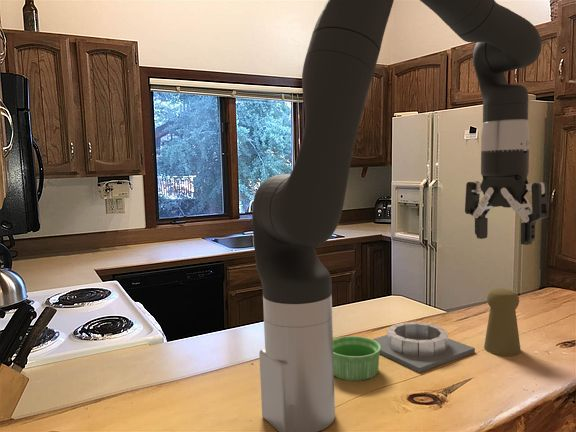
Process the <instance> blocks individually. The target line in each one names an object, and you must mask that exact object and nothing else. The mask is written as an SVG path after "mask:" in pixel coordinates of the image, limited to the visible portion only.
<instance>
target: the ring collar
mask: <svg viewBox="0 0 576 432" xmlns="http://www.w3.org/2000/svg"><path fill="white" fill-rule="evenodd" d="M386 331H387V332H386V335H387V344H388V345H389V347H390V348H391V349H392V350H394V351H396V352H399V353H401V354H404V355H410V356H417V357H418V356H419V357H425V356H436V355H439V354H442V353H445V352H446V350H447V348H448V338H449V333H448V331H446V329H444V328H443V327H441V326H439V325H435V324H432V323H427V322H420V321H410V322H409V321H408V322H407V321H406V322H400V323H397V324H392V325H390V327H388V329H387V330H386ZM404 337H422V338H428V339H431V340H414V339H407V338H404Z"/></svg>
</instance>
